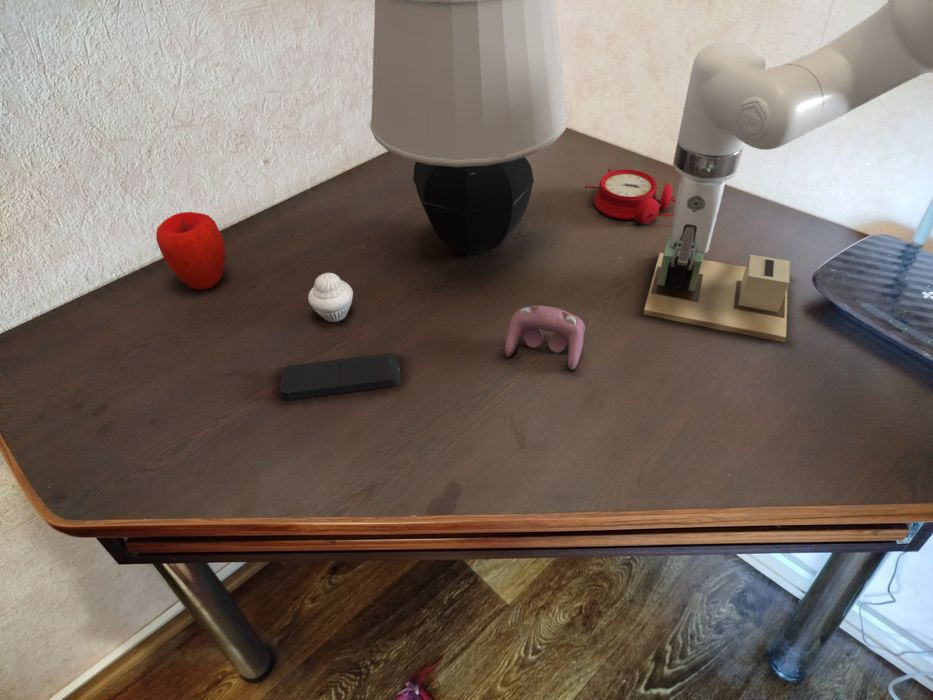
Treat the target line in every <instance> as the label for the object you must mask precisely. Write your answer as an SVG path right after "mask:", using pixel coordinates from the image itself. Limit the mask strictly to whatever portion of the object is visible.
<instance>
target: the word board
mask: <svg viewBox="0 0 933 700" xmlns="http://www.w3.org/2000/svg"><path fill="white" fill-rule="evenodd" d="M663 255H664V252H659V253H658V257H657V259H656V264H655V268H654V272H653V276H652V279H651V283H650V287H649V289H648V294H647V298H646V302H645V305H644V309H643V316H647V317H652V318H658V319H663V320H667V321H672V322H677V323H681V324H682V323H684V324H688V325H693V326H698V327H704V328H709V329H713V330H718V331H724V332H729V333H735V334H739V335H744V336H749V337H754V338H758V339H759V338H760V339H765V340H770V341H775V342H780V343H785V341H786V337H787V322H788V321H787V318H788V317H787V316H788V315H787V314H788V289H787V290H786V293H785V295H784V298H783V301H782V303H781V306H780V308H779V311H778V312H773V311H767V310H762V309H757V308H751V307H746V306H740V305H739V296H740V287H741V281H742V278H743V275H744V272H745V269H746V266H744V265H743V266H742V265H737V264H732V263H725V262H719V261H713V260H708V259H703V260H702V264H701V268H700V272H699V276H698V279H697V283H696V287H695V291H690V290H688V291H680V290H675V289H670V288H666V287H665V286H663V285H658V284H657V283H658V279H659V274H660V269H661V264H662V260H663Z"/></svg>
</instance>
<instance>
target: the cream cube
mask: <svg viewBox="0 0 933 700" xmlns="http://www.w3.org/2000/svg"><path fill="white" fill-rule="evenodd" d="M790 265H791V261H790V260H787V259H781V258H774V257H769V256H761V255H756V254H749V256H748V260H747V263H746V266H745V267H746V269H745V272H744V275H743V278H742V281H741V287H740V296H739V305H740V306H746V307H751V308H757V309H762V310H767V311H773V312H778V311H779V308H780V306H781V303H782V301H783V298H784V295H785V293H786V290H787V291H788V287H789V286H790V273H791V272H790Z"/></svg>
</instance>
